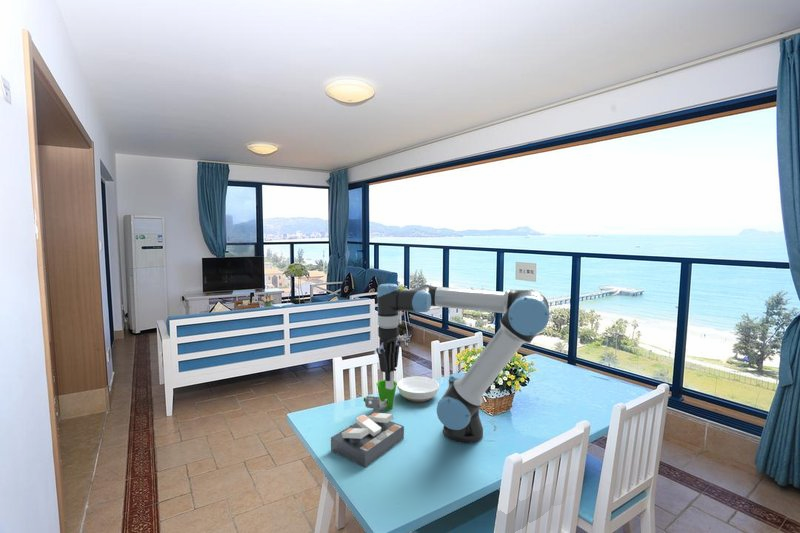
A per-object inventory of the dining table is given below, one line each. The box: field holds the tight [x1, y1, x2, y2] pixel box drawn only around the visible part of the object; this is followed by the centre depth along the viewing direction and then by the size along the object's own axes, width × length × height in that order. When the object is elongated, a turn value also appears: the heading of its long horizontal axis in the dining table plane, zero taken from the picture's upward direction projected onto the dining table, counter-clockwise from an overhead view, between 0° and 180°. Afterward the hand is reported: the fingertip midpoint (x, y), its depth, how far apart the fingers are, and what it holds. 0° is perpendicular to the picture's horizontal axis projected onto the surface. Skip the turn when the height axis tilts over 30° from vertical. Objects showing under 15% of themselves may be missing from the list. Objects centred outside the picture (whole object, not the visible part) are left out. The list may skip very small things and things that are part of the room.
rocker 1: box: [342, 428, 369, 439], centre depth 136 cm, size 9×4×2 cm, turn 54°
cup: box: [376, 379, 398, 411], centre depth 171 cm, size 9×9×11 cm
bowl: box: [396, 375, 440, 403], centre depth 183 cm, size 20×20×6 cm
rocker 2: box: [354, 414, 381, 437], centre depth 141 cm, size 9×4×2 cm, turn 54°
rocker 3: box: [367, 412, 394, 423], centre depth 147 cm, size 9×4×2 cm, turn 54°
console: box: [330, 413, 405, 468], centre depth 142 cm, size 16×22×6 cm
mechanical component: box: [363, 395, 389, 413], centre depth 158 cm, size 3×10×10 cm, turn 78°
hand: (389, 388), depth 145 cm, fingers closed
